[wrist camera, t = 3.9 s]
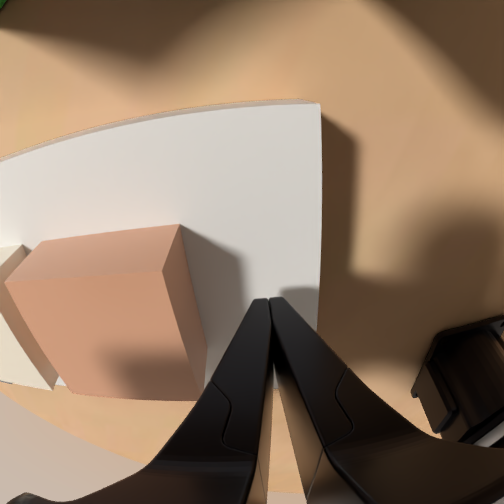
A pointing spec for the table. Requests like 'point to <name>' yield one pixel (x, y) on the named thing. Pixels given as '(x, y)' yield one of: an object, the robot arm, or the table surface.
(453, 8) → the table surface
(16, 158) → the board
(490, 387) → the robot arm
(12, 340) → the tile
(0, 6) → the chalk box
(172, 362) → the tile
